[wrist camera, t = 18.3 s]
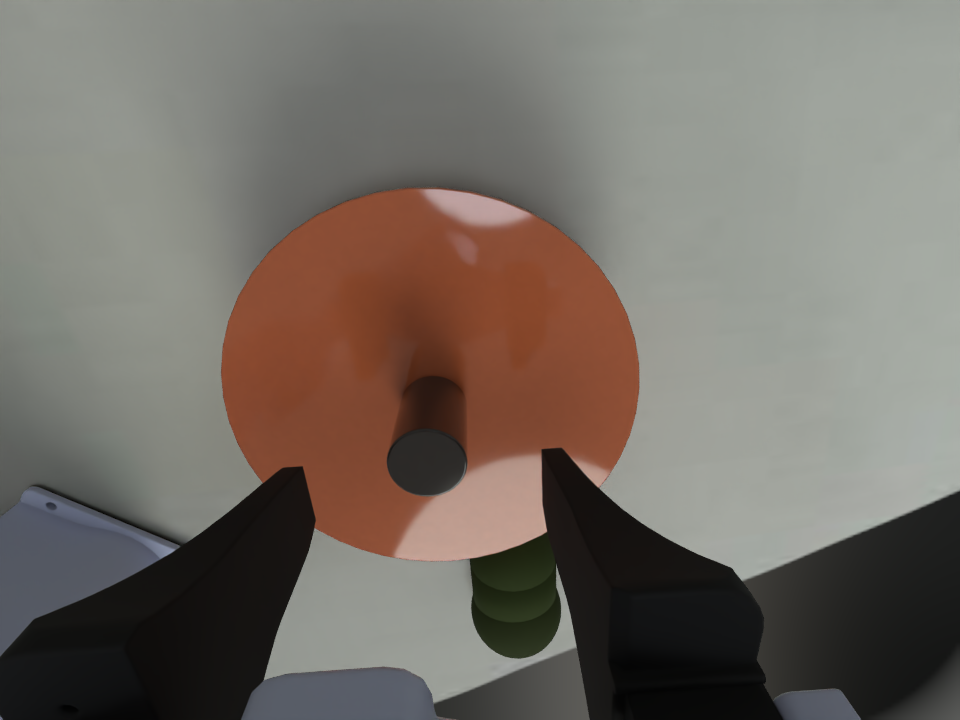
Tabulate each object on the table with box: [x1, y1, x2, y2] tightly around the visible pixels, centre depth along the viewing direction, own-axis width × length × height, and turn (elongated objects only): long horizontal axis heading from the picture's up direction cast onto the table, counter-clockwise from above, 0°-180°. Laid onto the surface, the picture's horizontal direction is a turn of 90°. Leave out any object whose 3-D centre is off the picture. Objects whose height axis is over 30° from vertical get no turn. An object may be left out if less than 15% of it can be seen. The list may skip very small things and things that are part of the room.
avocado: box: [470, 532, 561, 658], centre depth 27 cm, size 8×5×5 cm, turn 4°
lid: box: [221, 187, 639, 561], centre depth 18 cm, size 16×16×5 cm
